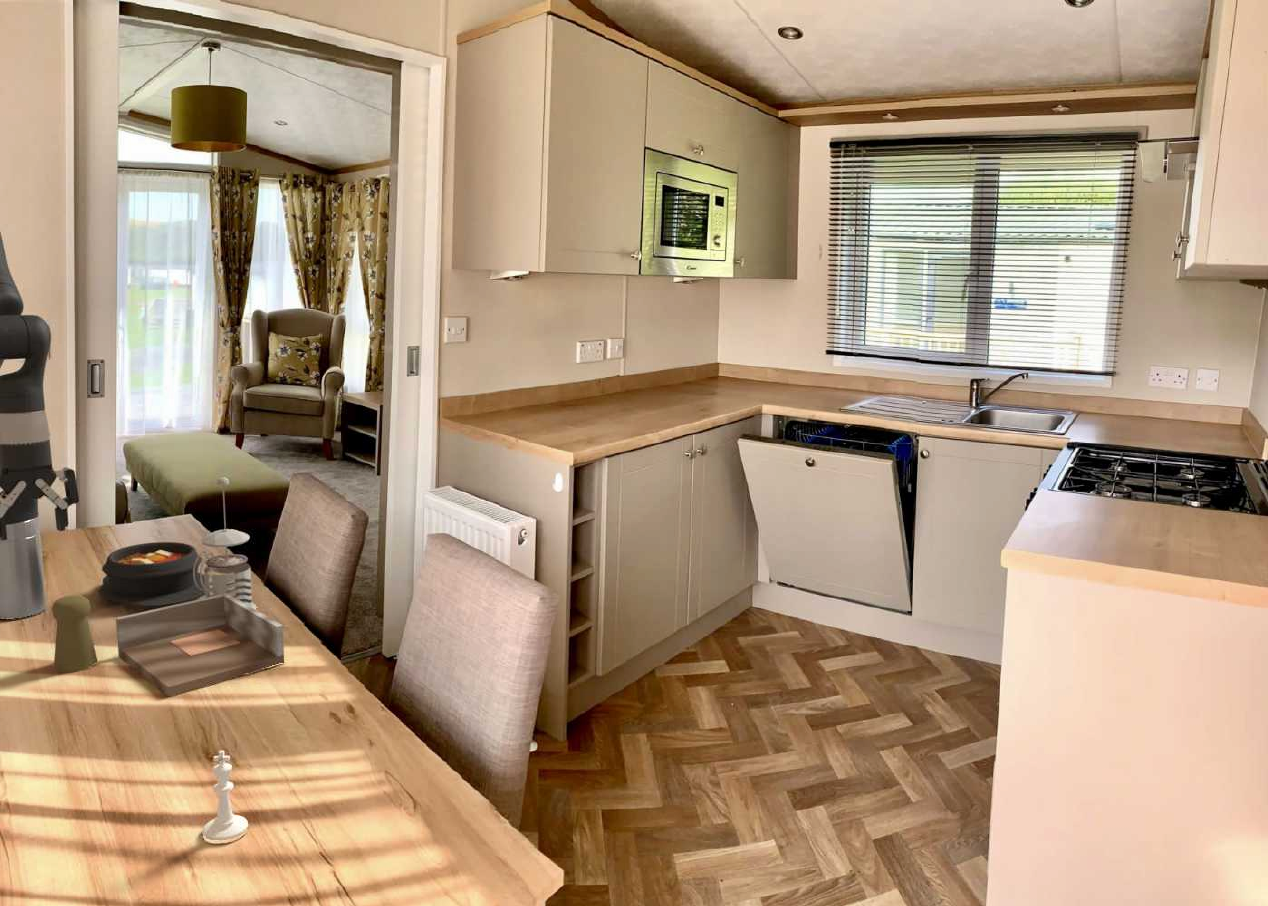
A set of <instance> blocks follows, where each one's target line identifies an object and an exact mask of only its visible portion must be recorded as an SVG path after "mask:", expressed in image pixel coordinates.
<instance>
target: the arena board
mask: <svg viewBox="0 0 1268 906" xmlns="http://www.w3.org/2000/svg"><path fill="white" fill-rule="evenodd" d="M233 596H234V595H229V594H227V593H226V594H221V595H217V596H212V597H208V598H200V599H199V598H198V599H195V600H192V601H189V602H185V603H181V604H176V605H170V606H163V607H158V608H155V609H150V610H146V611H143V612H138V613H133V614H128V615H122V616H119V617H115V624H116V636H117V637H116V638H117V649H118V650H117V653H118V657H119V658H120V659H122V660H123V661H124V662H125V663H126V664H128V665H129V666H130V667H131V668H132V669H134V670H135V671H136V672H137V673H139V674H140V675H141V676H143V678H145V679H146V680H147V681H149V683H151V684H152V685H154V686H155V687H156V689H158V690H160V691H161V692H162V693H163V694H164V695H166V696H167V697H169V698H170V697H173V696H178V695H180V694H183V693H187V692H191V691H194V690H198V689H201V688H205V687H208V686H212V685H214V684H213V683H215V684H218V683H221V682H226V681H230V680H232V678H233V679H235V678H239V677H238V676H240V677H242V676H241V675H243V676H245V675H244V674H246V673H250V674H252V673H251V672H254V671H257V670H260V669H262V668H266V667H269V666H272V665H276V664H279V663H284V664H285V650H284V649H285V648H284V625H283V624H282V623H279V622H278V621H276V620H274V619H273V618H270V617H269V616H267V615H265V614H264V613H262V612H260V611H259V610H255V609H253V608H252V607H250V606H248V605H247V604H245V603H243V602H241V601H240V600H238V599H236V598H234V597H233ZM257 672H258V671H257ZM254 673H255V672H254ZM211 684H212V685H211ZM207 685H208V686H207Z"/></svg>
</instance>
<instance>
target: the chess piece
mask: <svg viewBox="0 0 1268 906" xmlns="http://www.w3.org/2000/svg"><path fill="white" fill-rule="evenodd" d="M212 758H213V759H212V761H213V762H218V764H216V765H214V766H213V768H212V772H213V775H214V776H215V779H216V782H217V783H215V784H214V785H213V788H212V790H213V792H214V793H217V794H218V804H217V814H216V815H217V816H216V817H215V818H213V819H211V820H209V821H208V822H207V823H206V824H204V827H203V828H202V834H203V835H204V836H205V837H206V838H207V839H210V840H220V841H221V840H227V839H231V838H234V837H237V836H240V835H241V834H242V833H243V832H244V831H245V830H246V829H247V827H248V826H249V823H248V822H249V821H248V820H247V818H245V817H244V816H242V815H238V814H234V813H233V811H232V809H233V808H232V805H231V801H230V800H231V799H230V795H229V792H230V791H232V790H233V789H234V783H233V782H232V781H229V779H230V776H231V772H232V770H233V766H232V764H231V763H228V762H230V760H231V755H225V750H219V751H218V755H214V756H213V757H212Z"/></svg>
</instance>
